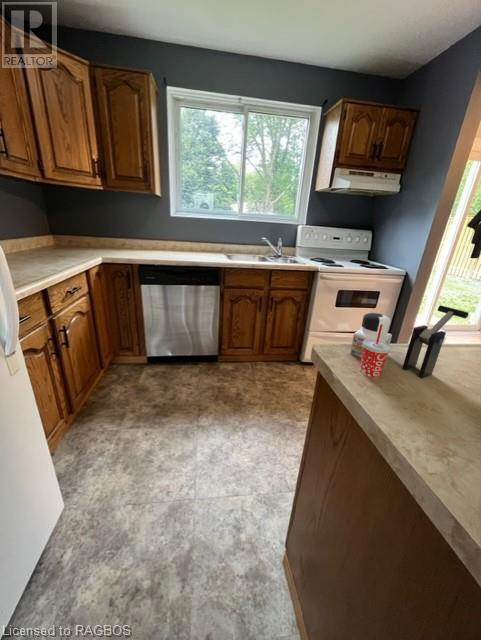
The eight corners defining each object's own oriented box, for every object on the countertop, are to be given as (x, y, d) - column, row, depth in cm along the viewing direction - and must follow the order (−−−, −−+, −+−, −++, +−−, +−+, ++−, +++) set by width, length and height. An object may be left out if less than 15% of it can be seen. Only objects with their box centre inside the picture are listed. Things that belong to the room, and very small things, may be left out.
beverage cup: (359, 382, 65) (372, 328, 60) (352, 369, 70) (363, 319, 65) (386, 385, 64) (401, 330, 59) (377, 371, 70) (389, 321, 65)
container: (348, 358, 76) (357, 314, 72) (358, 349, 82) (367, 308, 77) (377, 368, 71) (388, 322, 67) (386, 359, 77) (397, 315, 72)
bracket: (411, 363, 75) (424, 320, 70) (447, 380, 68) (464, 333, 63) (384, 373, 69) (396, 327, 65) (420, 392, 62) (436, 341, 57)
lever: (441, 309, 70) (441, 302, 69) (468, 317, 65) (468, 309, 64) (411, 339, 67) (410, 332, 66) (437, 349, 62) (437, 342, 61)
